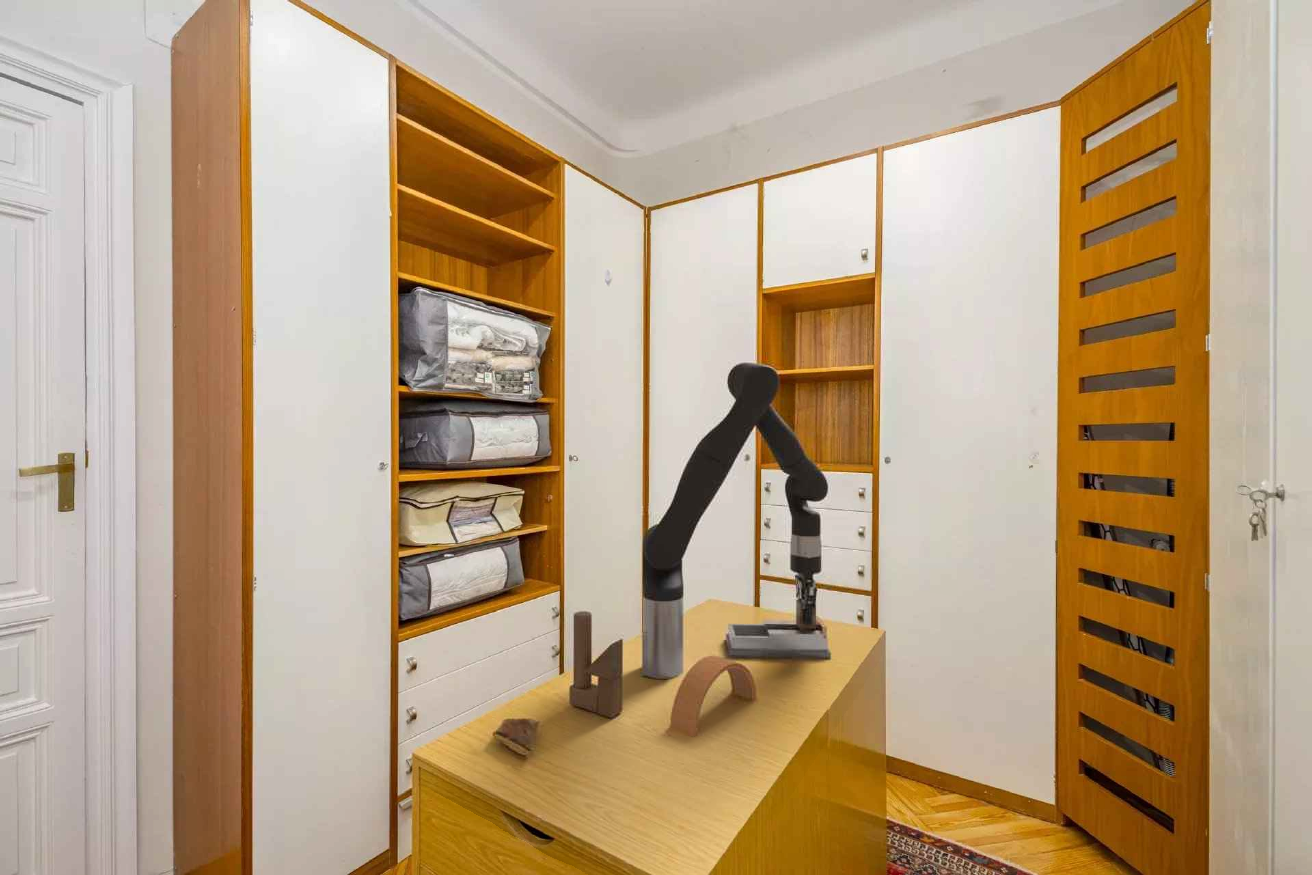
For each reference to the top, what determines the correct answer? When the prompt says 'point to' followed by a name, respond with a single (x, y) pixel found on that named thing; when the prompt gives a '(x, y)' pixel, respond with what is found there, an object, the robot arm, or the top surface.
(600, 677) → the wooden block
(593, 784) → the top surface
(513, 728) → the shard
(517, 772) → the top surface
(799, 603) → the headed peg
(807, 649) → the track
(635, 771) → the top surface
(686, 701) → the arch
